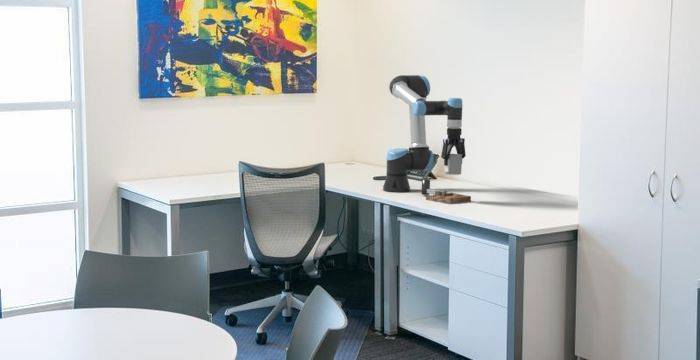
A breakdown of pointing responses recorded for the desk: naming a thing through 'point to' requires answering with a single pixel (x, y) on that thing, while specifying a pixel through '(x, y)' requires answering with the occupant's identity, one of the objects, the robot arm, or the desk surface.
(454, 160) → the cup
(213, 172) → the desk surface
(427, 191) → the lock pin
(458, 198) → the dock
